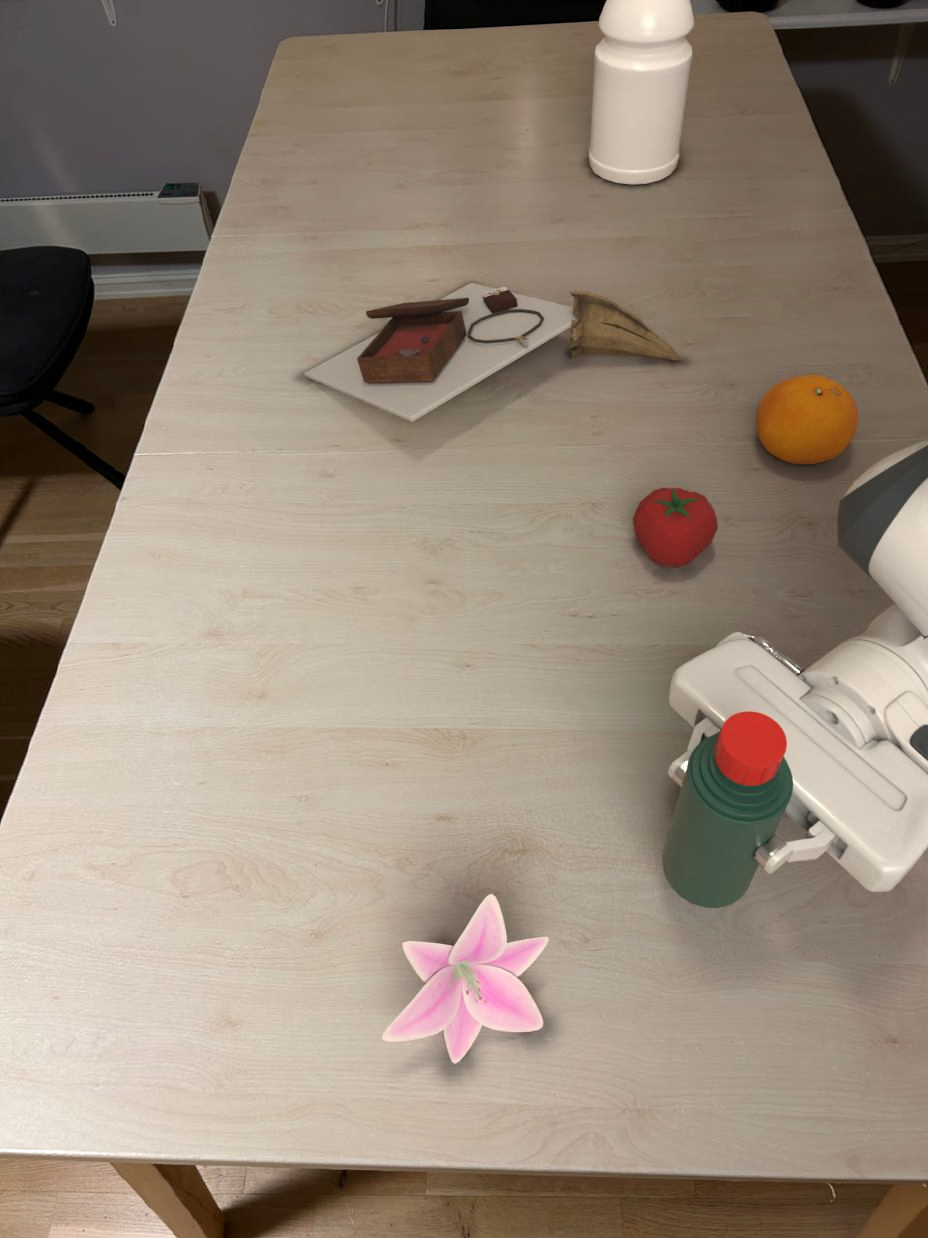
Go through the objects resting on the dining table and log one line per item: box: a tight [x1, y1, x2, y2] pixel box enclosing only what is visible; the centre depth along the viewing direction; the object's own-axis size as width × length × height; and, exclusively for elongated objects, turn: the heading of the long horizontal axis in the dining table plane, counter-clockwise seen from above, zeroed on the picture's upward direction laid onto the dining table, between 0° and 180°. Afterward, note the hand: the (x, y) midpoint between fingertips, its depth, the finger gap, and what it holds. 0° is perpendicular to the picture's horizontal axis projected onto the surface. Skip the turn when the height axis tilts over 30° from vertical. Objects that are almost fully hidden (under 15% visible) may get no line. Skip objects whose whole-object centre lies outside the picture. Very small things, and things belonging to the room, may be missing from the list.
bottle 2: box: [661, 733, 793, 909], centre depth 63 cm, size 7×7×18 cm
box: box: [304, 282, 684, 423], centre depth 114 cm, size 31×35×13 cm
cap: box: [714, 711, 787, 786], centre depth 57 cm, size 4×4×2 cm
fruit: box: [755, 373, 859, 465], centre depth 101 cm, size 10×10×8 cm
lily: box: [381, 893, 550, 1065], centre depth 66 cm, size 12×12×10 cm
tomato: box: [632, 487, 718, 568], centre depth 93 cm, size 8×8×7 cm
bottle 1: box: [588, 0, 695, 185], centre depth 135 cm, size 14×14×28 cm
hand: (717, 819), depth 63 cm, fingers closed on bottle 2, 6 cm apart
